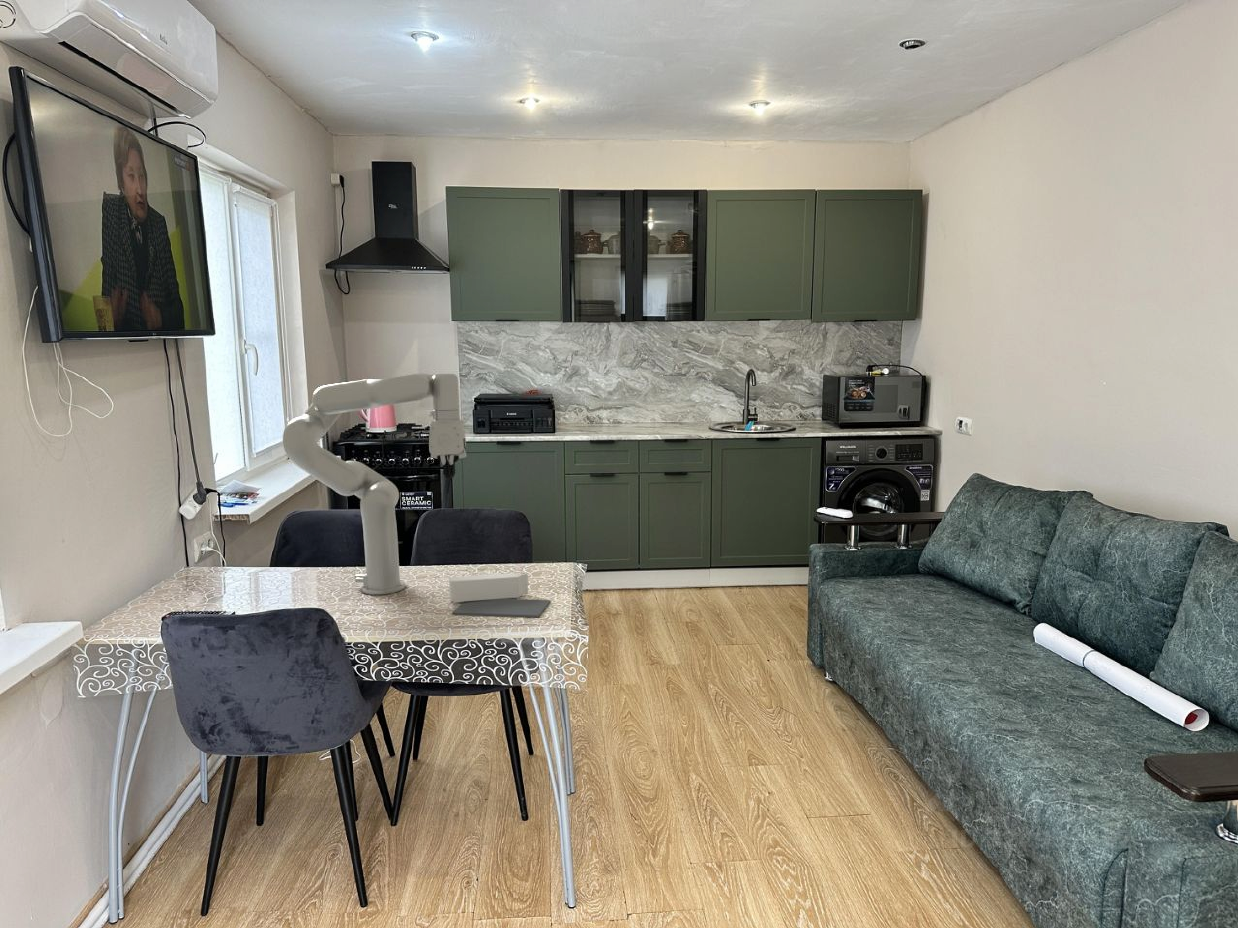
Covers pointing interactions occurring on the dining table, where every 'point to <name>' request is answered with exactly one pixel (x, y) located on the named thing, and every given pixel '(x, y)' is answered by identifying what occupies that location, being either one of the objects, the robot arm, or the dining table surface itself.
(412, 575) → the dining table surface
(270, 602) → the dining table surface
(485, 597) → the milk
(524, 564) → the dining table surface
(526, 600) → the mat
